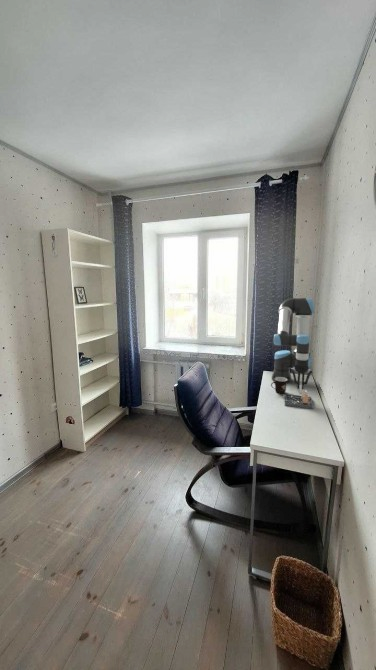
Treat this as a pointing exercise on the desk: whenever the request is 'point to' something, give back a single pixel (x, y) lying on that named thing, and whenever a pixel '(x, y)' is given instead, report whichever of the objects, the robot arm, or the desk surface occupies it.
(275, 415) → the desk surface
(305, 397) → the fader terracotta
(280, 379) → the coffee mug
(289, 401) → the console
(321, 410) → the desk surface
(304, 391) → the fader cream
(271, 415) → the desk surface
